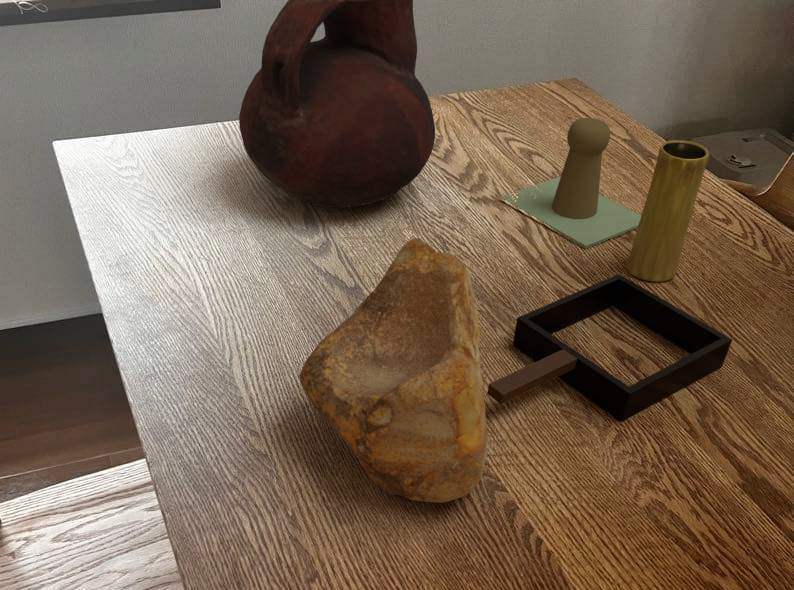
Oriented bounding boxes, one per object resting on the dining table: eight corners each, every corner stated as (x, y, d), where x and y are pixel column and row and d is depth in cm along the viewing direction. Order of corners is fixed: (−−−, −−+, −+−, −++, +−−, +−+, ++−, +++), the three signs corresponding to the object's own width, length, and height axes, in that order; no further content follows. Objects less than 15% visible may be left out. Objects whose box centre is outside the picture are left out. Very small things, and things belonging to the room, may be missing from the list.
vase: (644, 287, 97) (679, 165, 86) (614, 262, 101) (644, 142, 90) (686, 277, 99) (725, 156, 88) (655, 253, 102) (689, 134, 92)
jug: (210, 182, 112) (181, -35, 94) (350, 135, 124) (348, -65, 106) (326, 253, 100) (318, 20, 82) (468, 194, 112) (489, -22, 94)
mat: (562, 178, 116) (563, 175, 116) (649, 223, 108) (650, 220, 107) (499, 200, 111) (500, 196, 111) (585, 249, 103) (586, 245, 102)
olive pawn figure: (588, 196, 111) (606, 111, 103) (603, 217, 107) (623, 130, 99) (545, 199, 110) (560, 112, 102) (559, 220, 106) (576, 132, 98)
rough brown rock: (314, 362, 86) (293, 230, 75) (472, 354, 86) (475, 219, 74) (300, 528, 71) (271, 394, 60) (492, 520, 71) (499, 383, 59)
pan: (611, 301, 95) (618, 273, 92) (721, 367, 86) (732, 339, 84) (440, 378, 84) (442, 349, 81) (547, 462, 76) (553, 433, 73)
